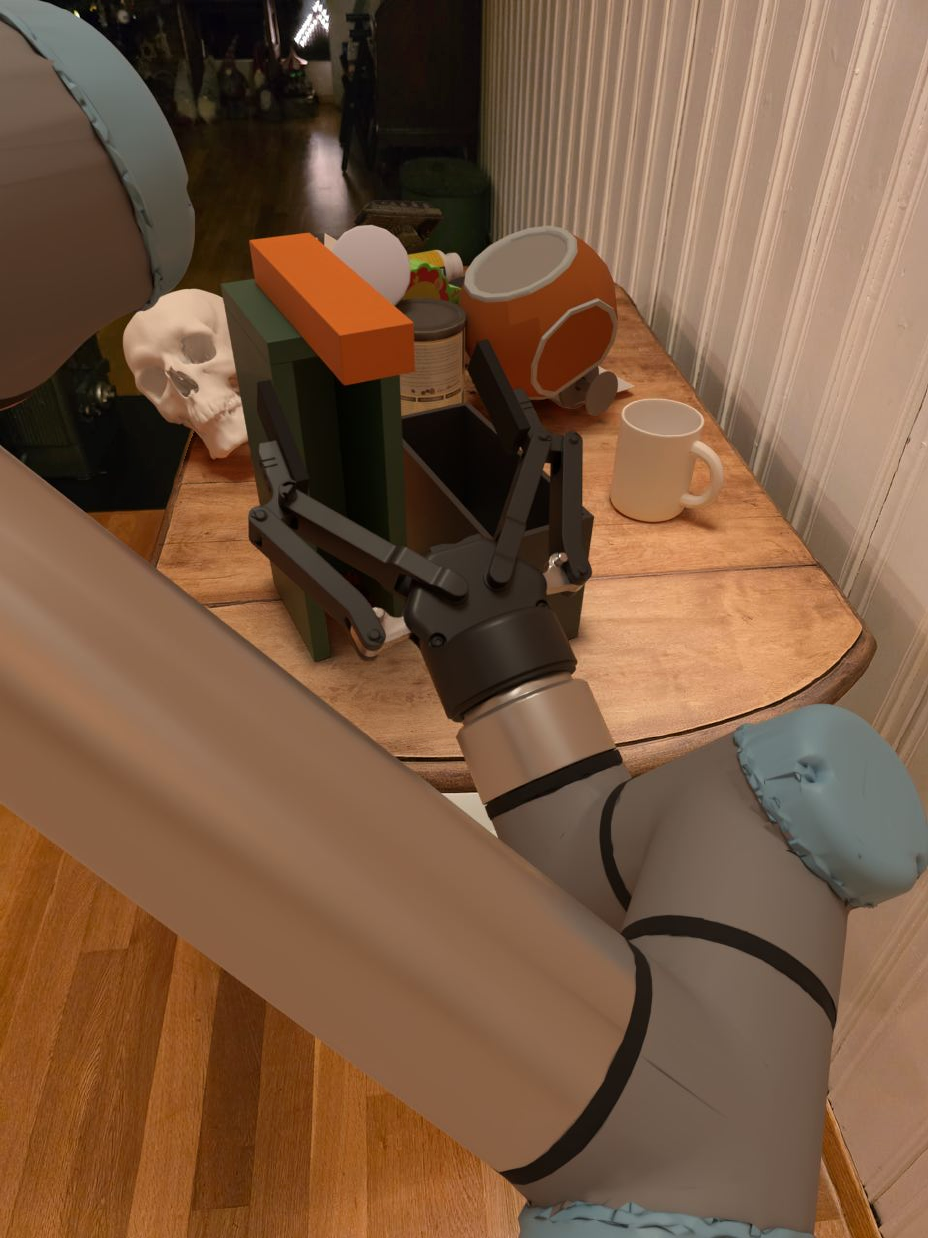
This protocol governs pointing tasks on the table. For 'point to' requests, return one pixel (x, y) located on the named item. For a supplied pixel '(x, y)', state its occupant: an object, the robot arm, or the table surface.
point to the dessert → (621, 383)
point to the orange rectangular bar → (334, 309)
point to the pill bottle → (442, 262)
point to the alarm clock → (541, 308)
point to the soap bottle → (376, 260)
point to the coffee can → (434, 355)
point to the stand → (321, 442)
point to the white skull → (189, 366)
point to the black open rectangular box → (473, 492)
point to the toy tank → (402, 220)
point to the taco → (431, 285)
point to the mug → (661, 461)
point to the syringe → (591, 392)
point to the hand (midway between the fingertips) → (375, 373)
